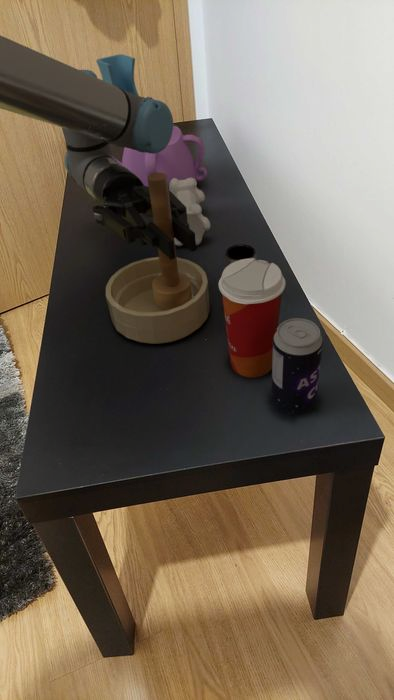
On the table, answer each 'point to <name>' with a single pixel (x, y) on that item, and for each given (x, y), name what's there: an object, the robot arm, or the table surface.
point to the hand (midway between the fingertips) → (182, 246)
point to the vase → (118, 71)
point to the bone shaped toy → (191, 206)
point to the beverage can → (296, 365)
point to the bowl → (144, 314)
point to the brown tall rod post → (170, 284)
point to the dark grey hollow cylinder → (239, 253)
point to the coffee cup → (251, 313)
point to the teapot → (167, 160)
